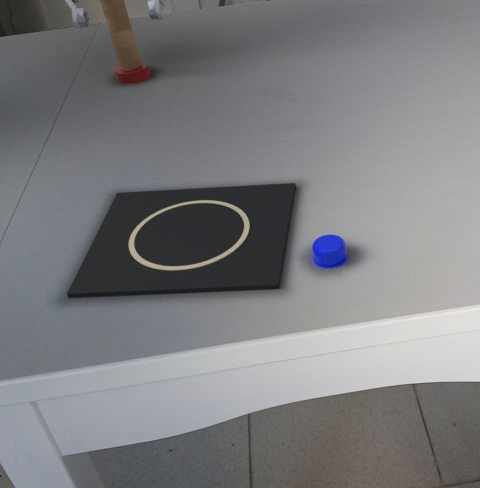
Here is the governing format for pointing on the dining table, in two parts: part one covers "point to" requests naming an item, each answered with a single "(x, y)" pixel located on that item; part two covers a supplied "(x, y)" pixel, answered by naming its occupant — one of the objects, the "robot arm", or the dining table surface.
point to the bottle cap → (329, 251)
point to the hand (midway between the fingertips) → (118, 21)
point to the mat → (189, 242)
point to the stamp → (124, 43)
